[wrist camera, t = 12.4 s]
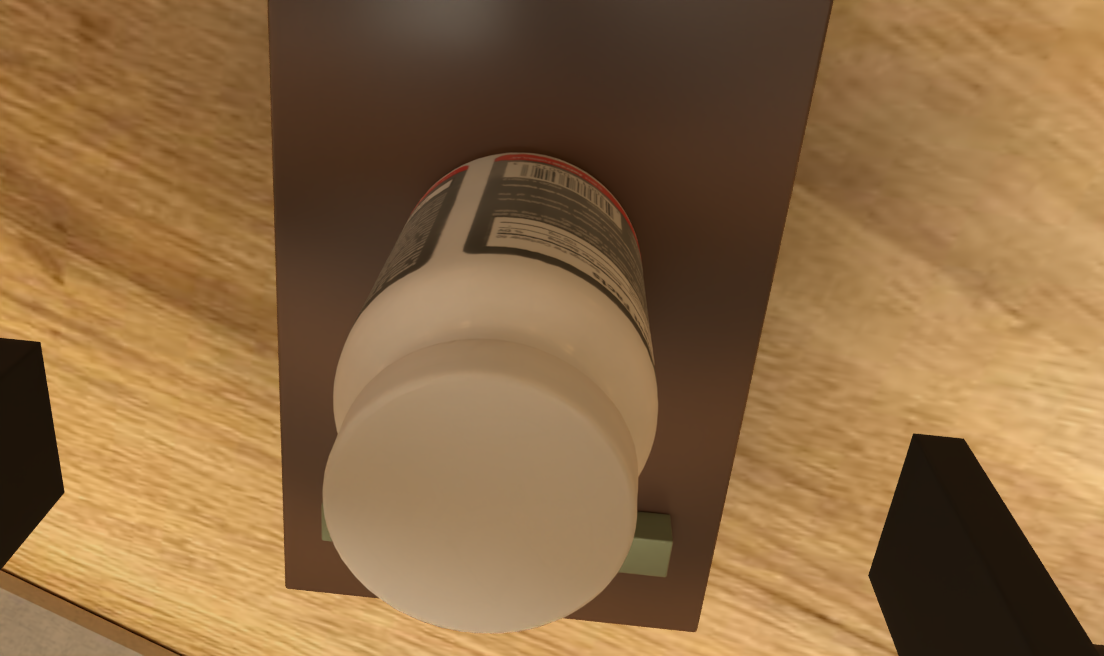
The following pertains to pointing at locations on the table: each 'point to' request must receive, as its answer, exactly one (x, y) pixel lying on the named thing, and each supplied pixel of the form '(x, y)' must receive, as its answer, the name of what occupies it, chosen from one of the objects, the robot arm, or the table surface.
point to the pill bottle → (496, 401)
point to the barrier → (60, 627)
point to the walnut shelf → (579, 139)
